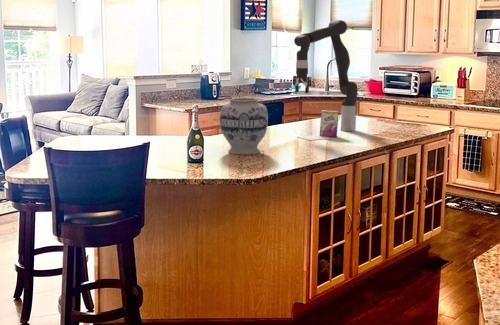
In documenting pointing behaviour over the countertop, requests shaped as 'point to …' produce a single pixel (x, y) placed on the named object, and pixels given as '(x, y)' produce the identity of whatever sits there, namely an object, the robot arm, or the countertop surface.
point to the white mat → (313, 137)
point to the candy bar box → (329, 123)
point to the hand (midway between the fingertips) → (301, 92)
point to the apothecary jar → (244, 125)
